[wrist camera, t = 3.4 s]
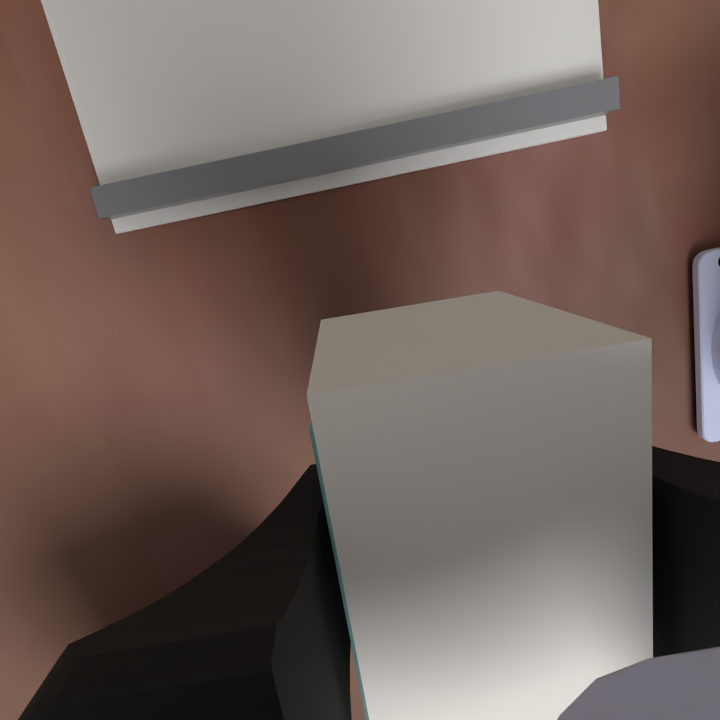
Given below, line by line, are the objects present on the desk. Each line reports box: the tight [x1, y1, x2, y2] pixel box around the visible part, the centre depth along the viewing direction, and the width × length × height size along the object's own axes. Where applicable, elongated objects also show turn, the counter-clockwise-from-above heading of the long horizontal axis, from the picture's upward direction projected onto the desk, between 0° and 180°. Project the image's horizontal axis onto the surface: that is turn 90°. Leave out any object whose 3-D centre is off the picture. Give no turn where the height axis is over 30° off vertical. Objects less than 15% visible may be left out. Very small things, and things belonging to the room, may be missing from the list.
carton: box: [307, 291, 653, 720], centre depth 10 cm, size 5×8×6 cm, turn 9°
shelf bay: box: [41, 0, 620, 234], centre depth 16 cm, size 18×10×1 cm, turn 101°
